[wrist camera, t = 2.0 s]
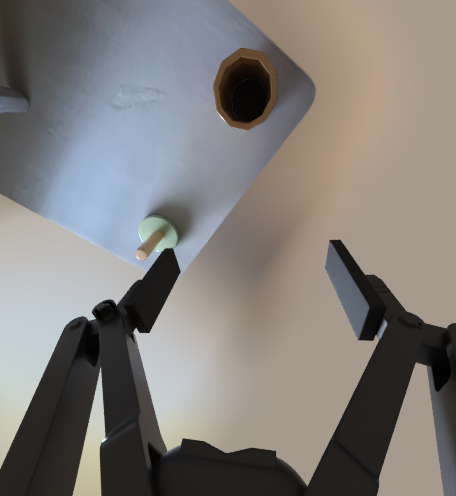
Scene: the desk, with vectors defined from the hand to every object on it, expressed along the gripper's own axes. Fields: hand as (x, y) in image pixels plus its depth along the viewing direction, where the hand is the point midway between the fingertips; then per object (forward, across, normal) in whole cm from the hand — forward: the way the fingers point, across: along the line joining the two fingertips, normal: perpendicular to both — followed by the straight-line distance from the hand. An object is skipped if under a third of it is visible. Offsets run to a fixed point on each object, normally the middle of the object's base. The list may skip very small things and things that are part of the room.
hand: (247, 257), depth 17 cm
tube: (+24, 0, -12) cm, 27 cm away
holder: (+24, +22, +9) cm, 33 cm away
